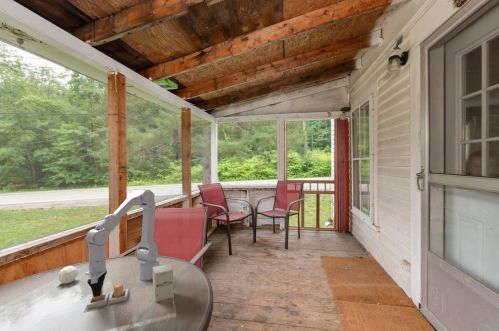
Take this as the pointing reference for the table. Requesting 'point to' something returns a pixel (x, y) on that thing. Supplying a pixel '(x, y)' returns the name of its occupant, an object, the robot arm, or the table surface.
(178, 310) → the table surface
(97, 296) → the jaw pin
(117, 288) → the jaw pin
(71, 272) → the ball
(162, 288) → the supplement box
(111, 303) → the housing
